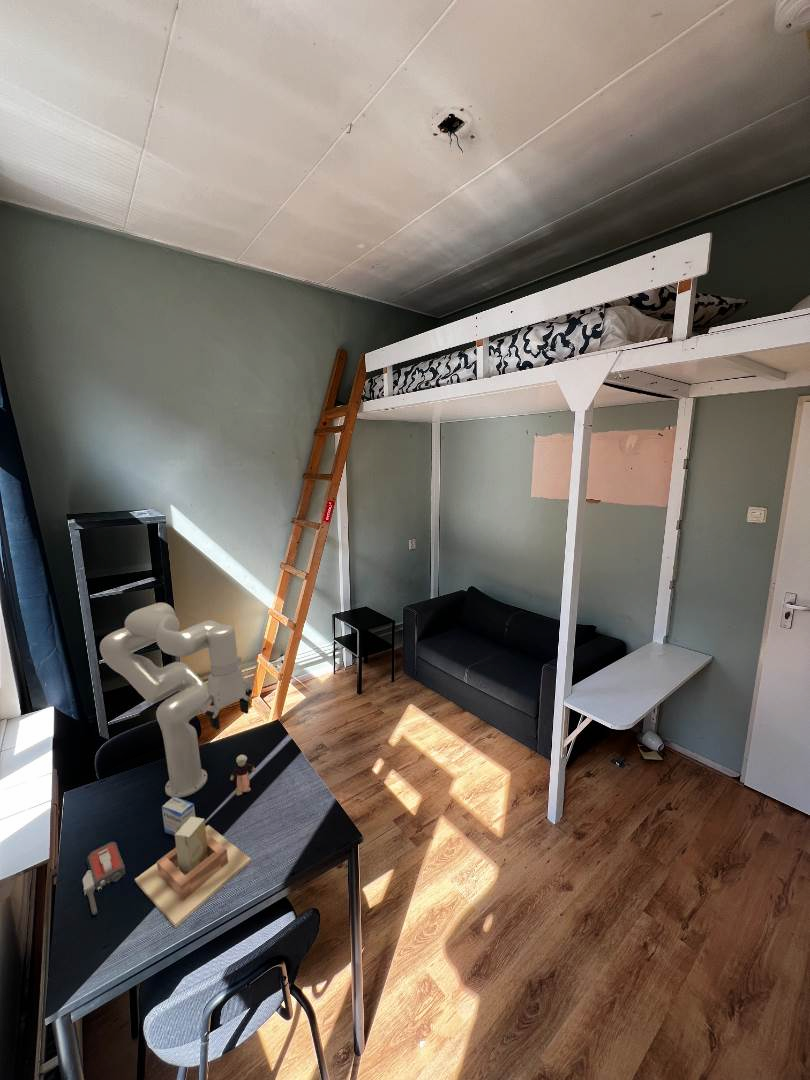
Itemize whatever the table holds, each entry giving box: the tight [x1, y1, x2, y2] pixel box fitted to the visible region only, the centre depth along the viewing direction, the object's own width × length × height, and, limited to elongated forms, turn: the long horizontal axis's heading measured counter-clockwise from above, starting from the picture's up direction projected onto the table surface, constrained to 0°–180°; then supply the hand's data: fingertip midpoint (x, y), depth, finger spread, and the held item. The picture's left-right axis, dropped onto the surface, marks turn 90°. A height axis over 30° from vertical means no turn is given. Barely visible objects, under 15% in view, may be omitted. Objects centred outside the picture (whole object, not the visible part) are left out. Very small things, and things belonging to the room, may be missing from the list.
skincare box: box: [174, 816, 209, 875], centre depth 112 cm, size 6×4×12 cm
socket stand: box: [134, 824, 252, 929], centre depth 112 cm, size 20×20×5 cm
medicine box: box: [161, 797, 196, 837], centre depth 125 cm, size 8×4×9 cm, turn 68°
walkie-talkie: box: [82, 841, 126, 916], centre depth 111 cm, size 9×4×20 cm
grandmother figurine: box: [229, 754, 256, 796], centre depth 140 cm, size 8×4×13 cm, turn 131°
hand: (230, 719), depth 131 cm, fingers open, 9 cm apart
